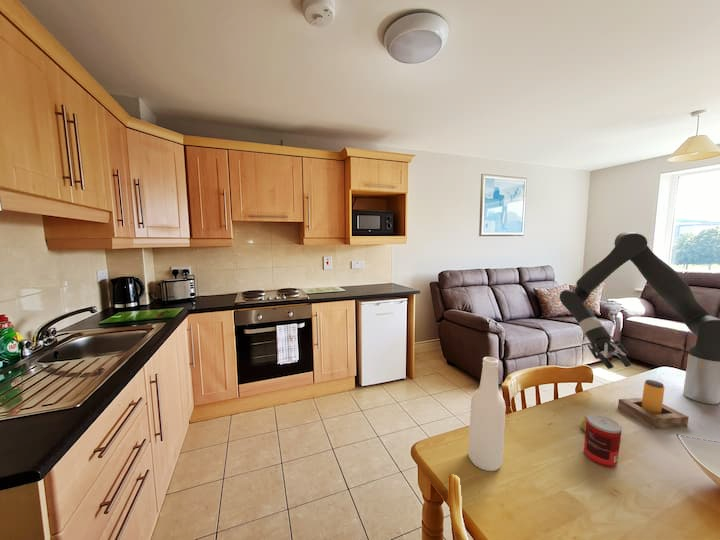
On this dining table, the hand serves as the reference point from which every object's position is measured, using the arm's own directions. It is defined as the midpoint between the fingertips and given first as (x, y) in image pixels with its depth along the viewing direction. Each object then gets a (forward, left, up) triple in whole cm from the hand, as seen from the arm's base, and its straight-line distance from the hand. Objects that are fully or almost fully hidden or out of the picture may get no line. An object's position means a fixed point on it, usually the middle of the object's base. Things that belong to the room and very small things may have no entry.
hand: (620, 367), depth 115 cm
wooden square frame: (0, +13, -13) cm, 18 cm away
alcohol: (+70, +27, -13) cm, 76 cm away
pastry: (+27, +18, -13) cm, 35 cm away
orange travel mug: (0, +13, -13) cm, 18 cm away
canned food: (+36, +29, -13) cm, 48 cm away
